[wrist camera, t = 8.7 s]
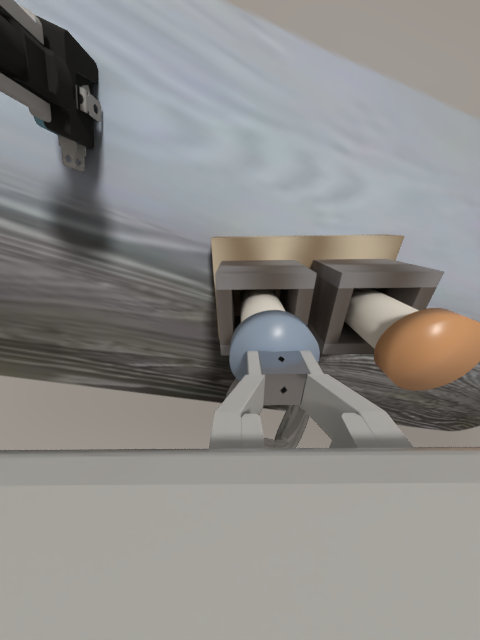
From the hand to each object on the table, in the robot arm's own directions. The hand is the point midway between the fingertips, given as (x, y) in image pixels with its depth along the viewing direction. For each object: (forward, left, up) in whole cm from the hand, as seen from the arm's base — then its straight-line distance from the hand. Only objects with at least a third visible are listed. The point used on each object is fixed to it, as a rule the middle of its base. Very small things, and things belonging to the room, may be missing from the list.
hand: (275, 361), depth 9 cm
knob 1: (0, 0, -9) cm, 9 cm away
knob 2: (+8, 0, -9) cm, 12 cm away
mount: (+4, 0, -12) cm, 12 cm away
